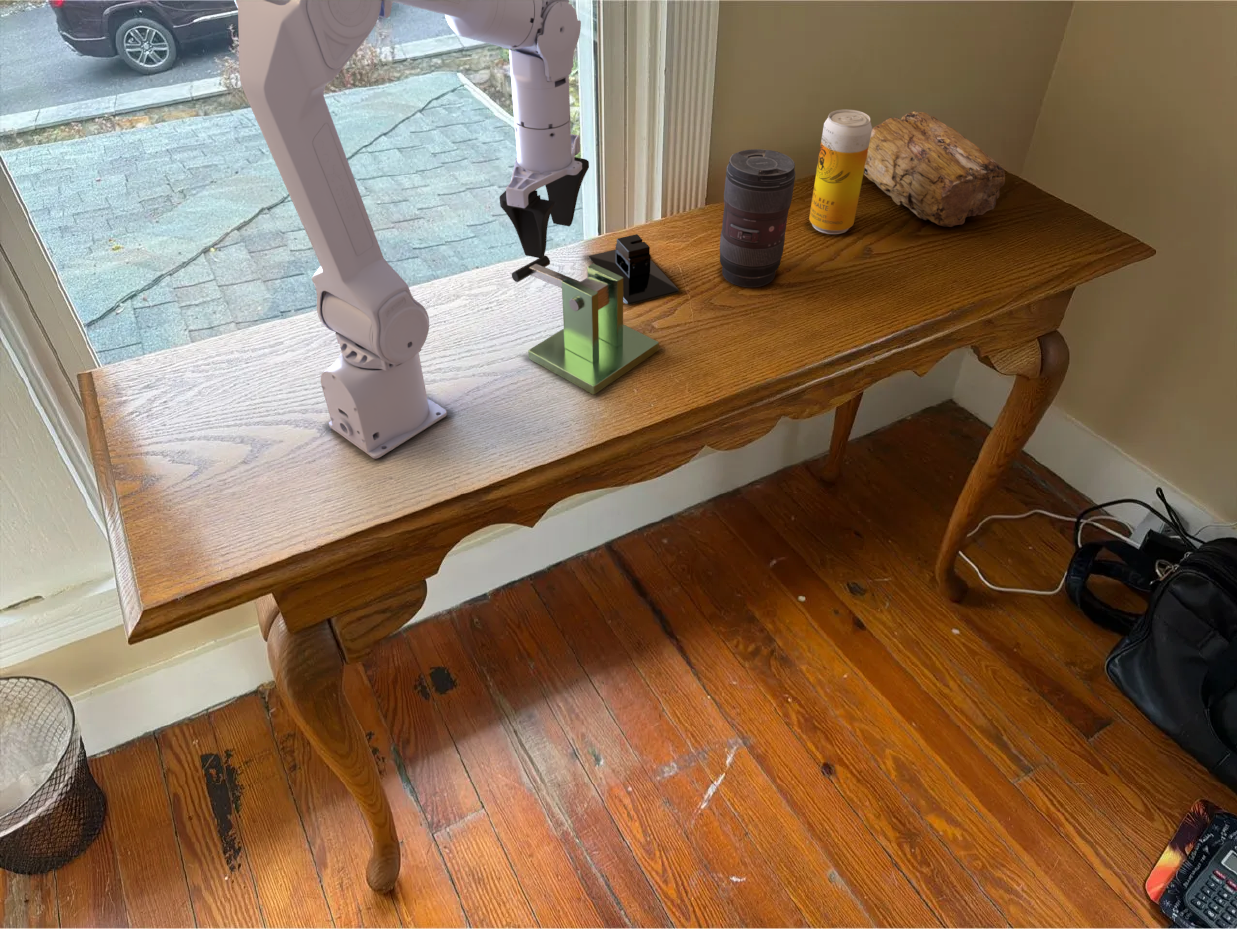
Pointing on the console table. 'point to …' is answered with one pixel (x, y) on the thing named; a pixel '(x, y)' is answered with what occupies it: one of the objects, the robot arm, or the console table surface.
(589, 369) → the bracket
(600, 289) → the lever
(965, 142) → the petrified wood
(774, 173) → the camera lens
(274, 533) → the console table surface
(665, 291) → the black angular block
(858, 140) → the beer can
